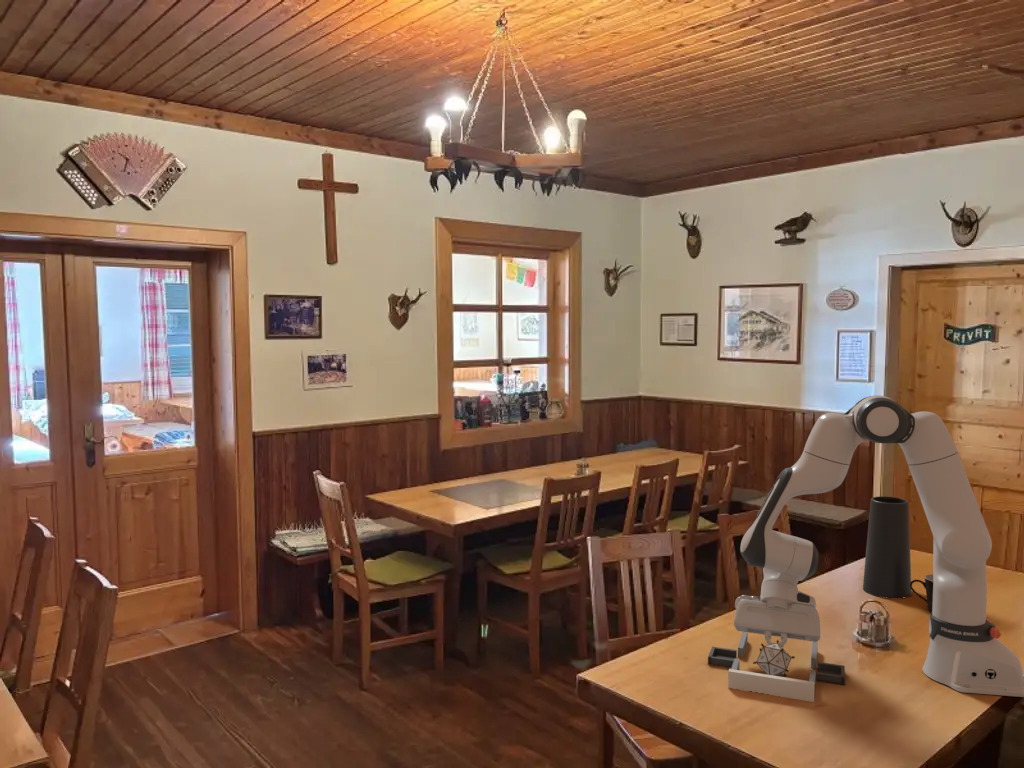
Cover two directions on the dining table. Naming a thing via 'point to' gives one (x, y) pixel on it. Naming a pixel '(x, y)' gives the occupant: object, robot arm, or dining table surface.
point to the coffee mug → (929, 590)
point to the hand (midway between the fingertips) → (774, 652)
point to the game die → (773, 659)
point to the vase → (888, 549)
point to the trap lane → (774, 683)
